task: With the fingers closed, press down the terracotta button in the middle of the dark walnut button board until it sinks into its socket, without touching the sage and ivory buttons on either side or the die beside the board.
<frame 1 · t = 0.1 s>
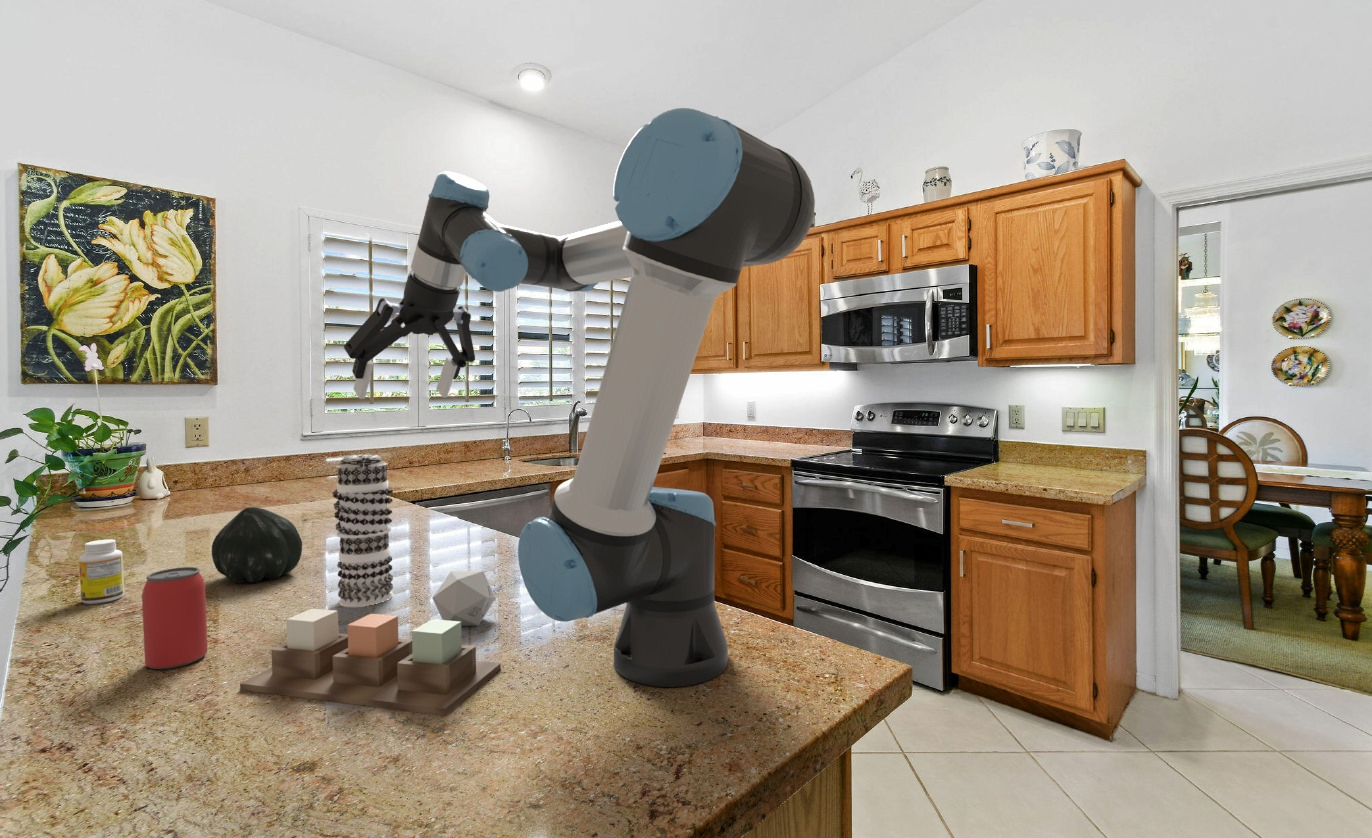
hand: (402, 393, 104), 36 cm above the countertop, tool tilted 35°, fingers open, 13 cm apart
terracotta button: (373, 636, 79), point 5 cm above the countertop, slide at 0.0 cm
squash: (260, 578, 123), on the countertop
ivory button: (313, 630, 81), point 6 cm above the countertop, slide at 0.0 cm
die: (465, 623, 99), on the countertop
decorative candle: (366, 600, 110), on the countertop
sage button: (437, 642, 77), point 5 cm above the countertop, slide at 0.0 cm
button board: (374, 679, 79), on the countertop
beer can: (177, 662, 85), on the countertop
supplement bottle: (103, 600, 110), on the countertop
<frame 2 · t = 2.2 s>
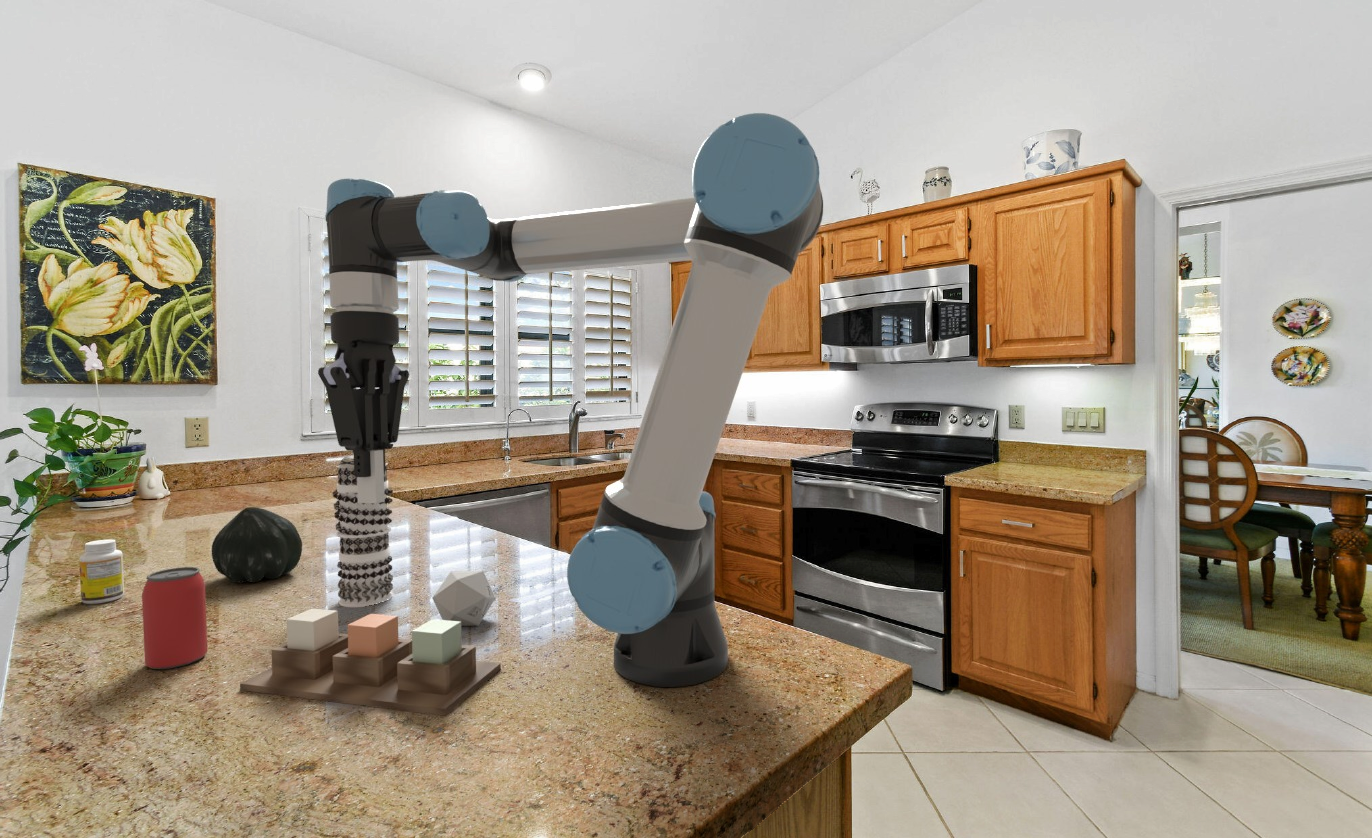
hand: (371, 501, 79), 22 cm above the countertop, tool pointing down, fingers closed
nothing on the countertop moved.
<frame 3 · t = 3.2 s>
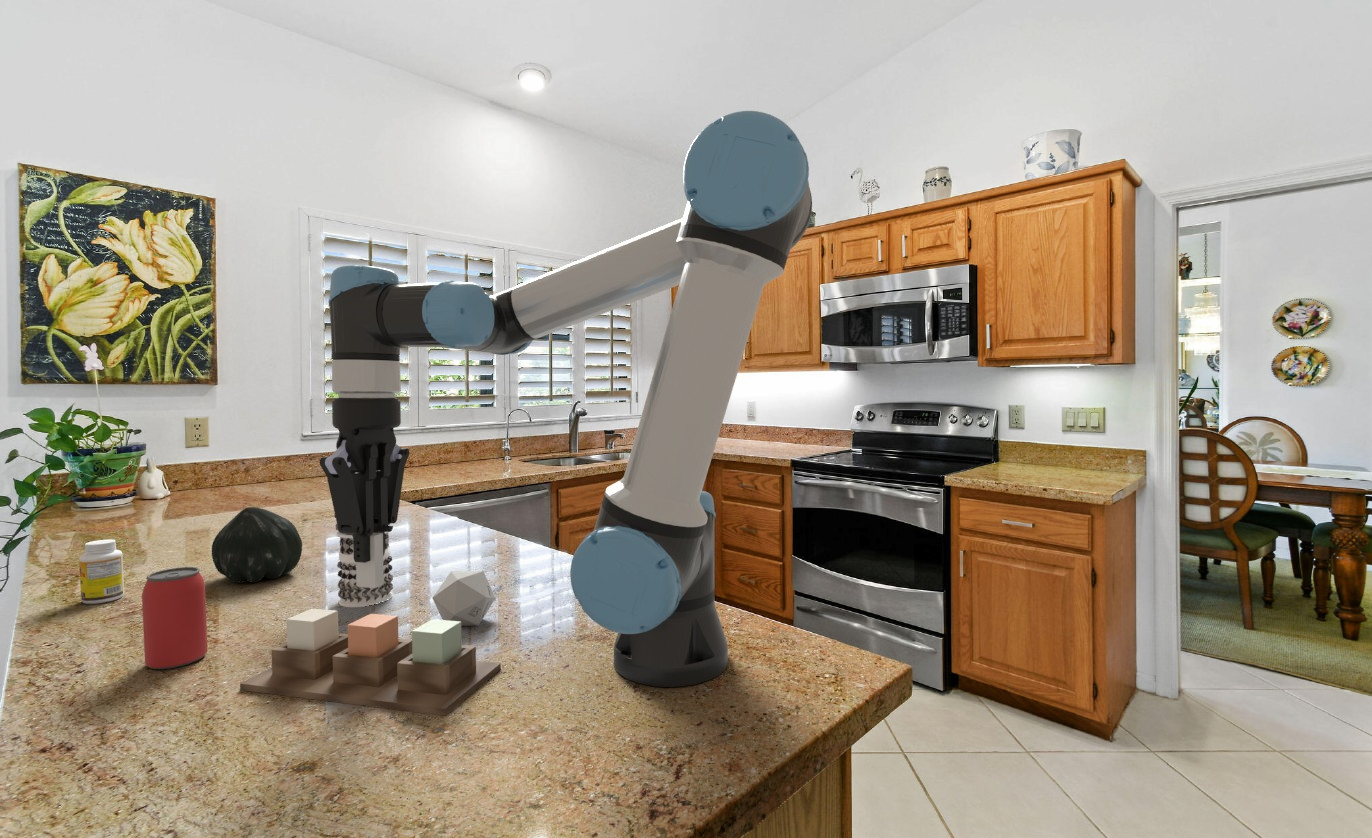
hand: (370, 585, 79), 12 cm above the countertop, tool pointing down, fingers closed
nothing on the countertop moved.
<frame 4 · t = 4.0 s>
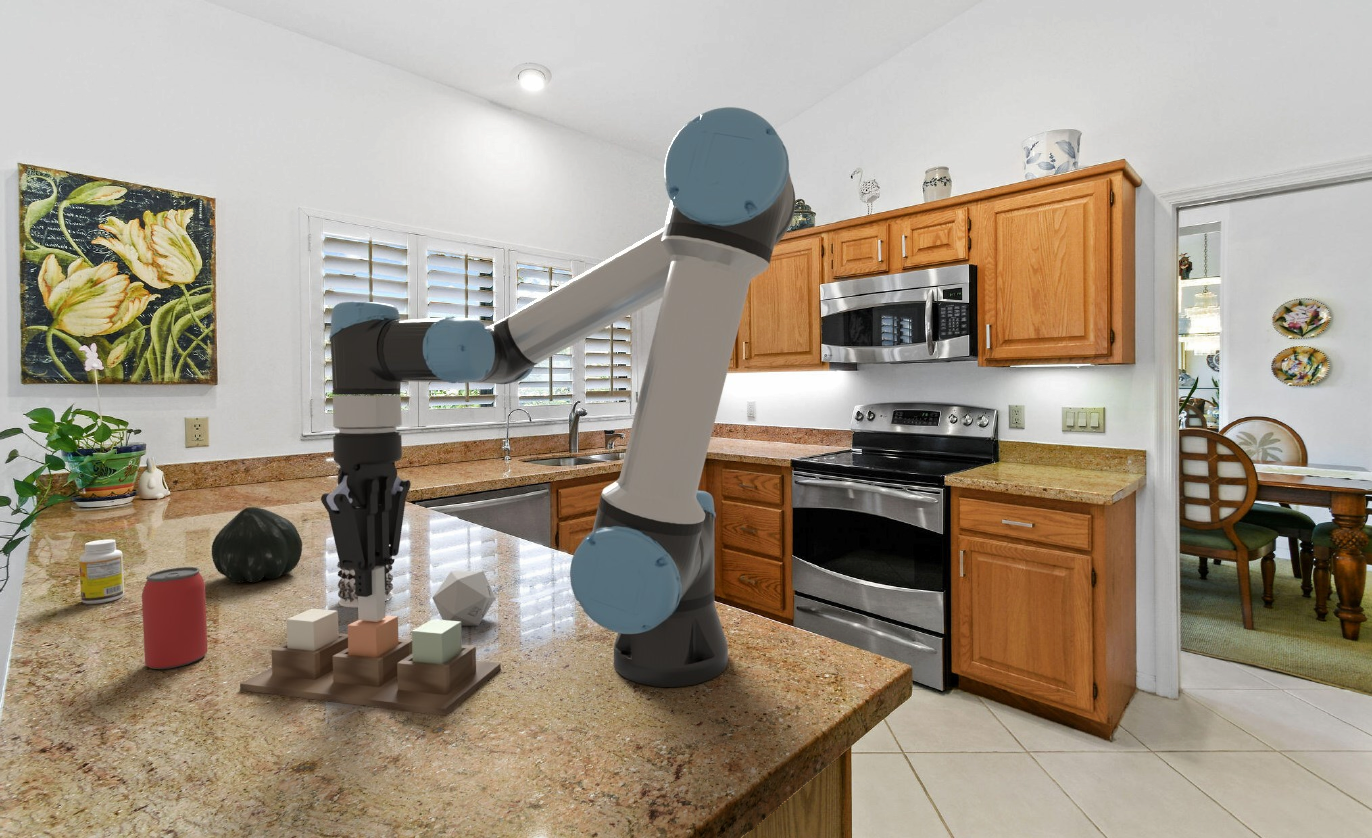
hand: (371, 618, 79), 8 cm above the countertop, tool pointing down, fingers closed
terracotta button: (373, 636, 79), point 5 cm above the countertop, slide at 0.1 cm, touching gripper
everything else where it was.
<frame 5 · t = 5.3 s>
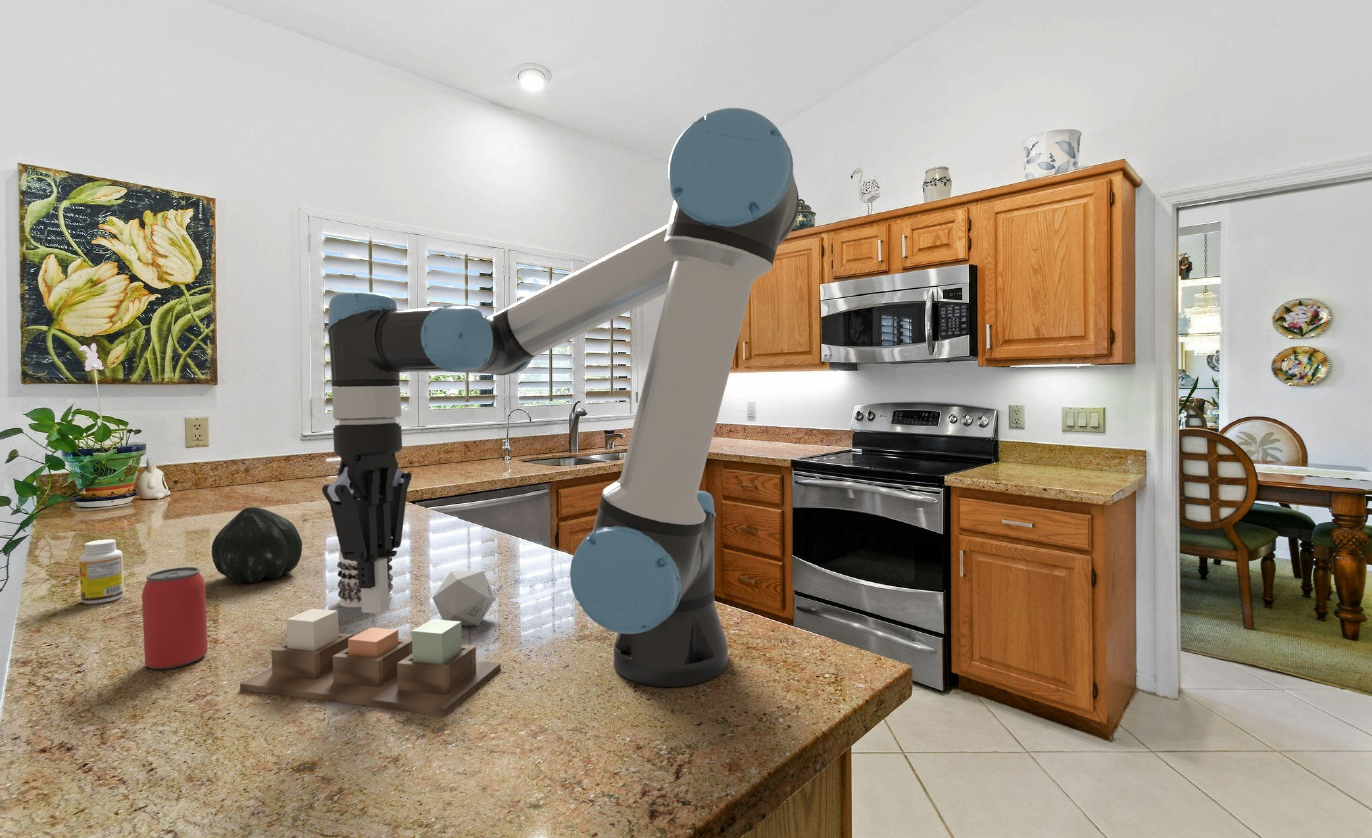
hand: (375, 610, 79), 9 cm above the countertop, tool pointing down, fingers closed
terracotta button: (374, 650, 79), point 4 cm above the countertop, slide at 1.8 cm
everything else where it was.
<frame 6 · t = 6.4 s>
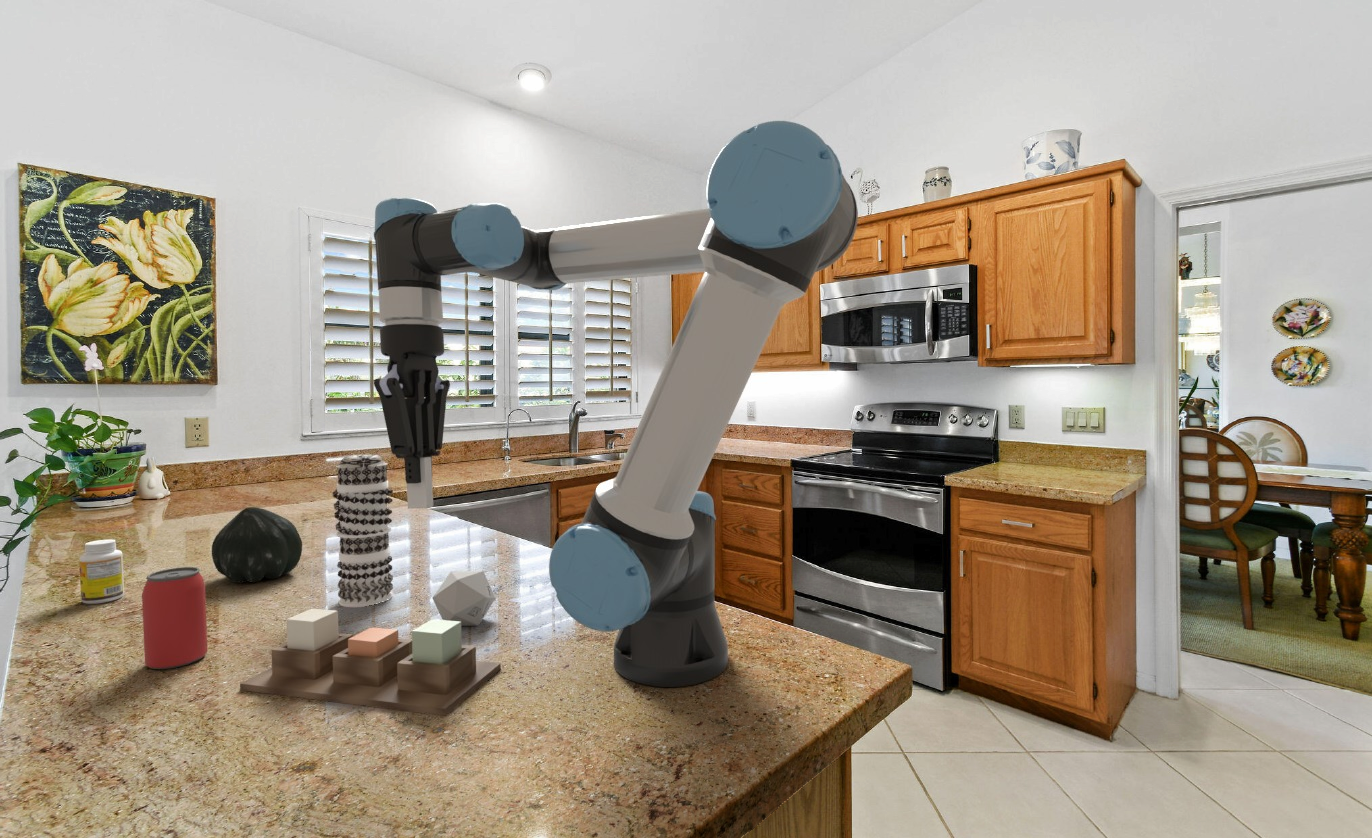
hand: (420, 507, 82), 21 cm above the countertop, tool pointing down, fingers closed
nothing on the countertop moved.
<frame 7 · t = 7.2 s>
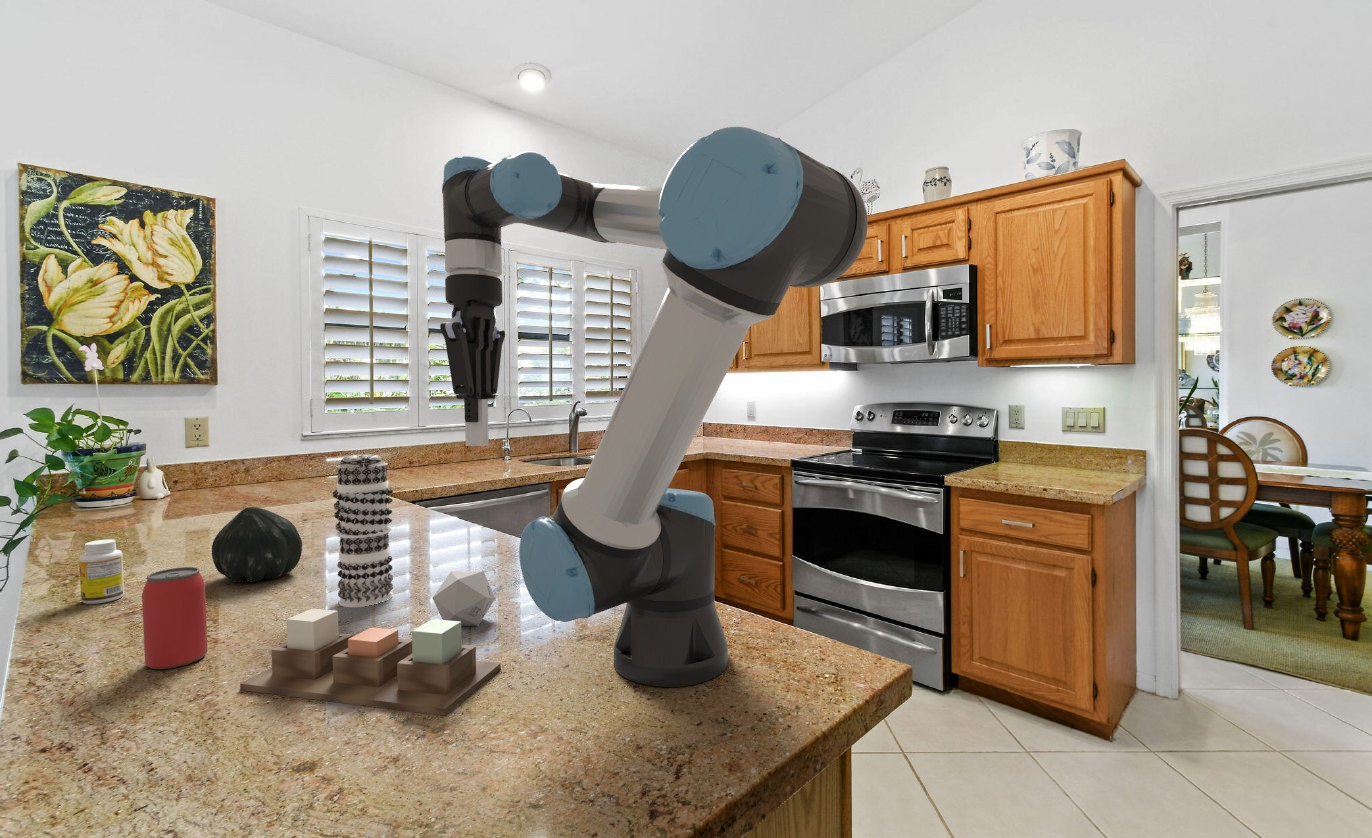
hand: (477, 445, 89), 28 cm above the countertop, tool pointing down, fingers closed
nothing on the countertop moved.
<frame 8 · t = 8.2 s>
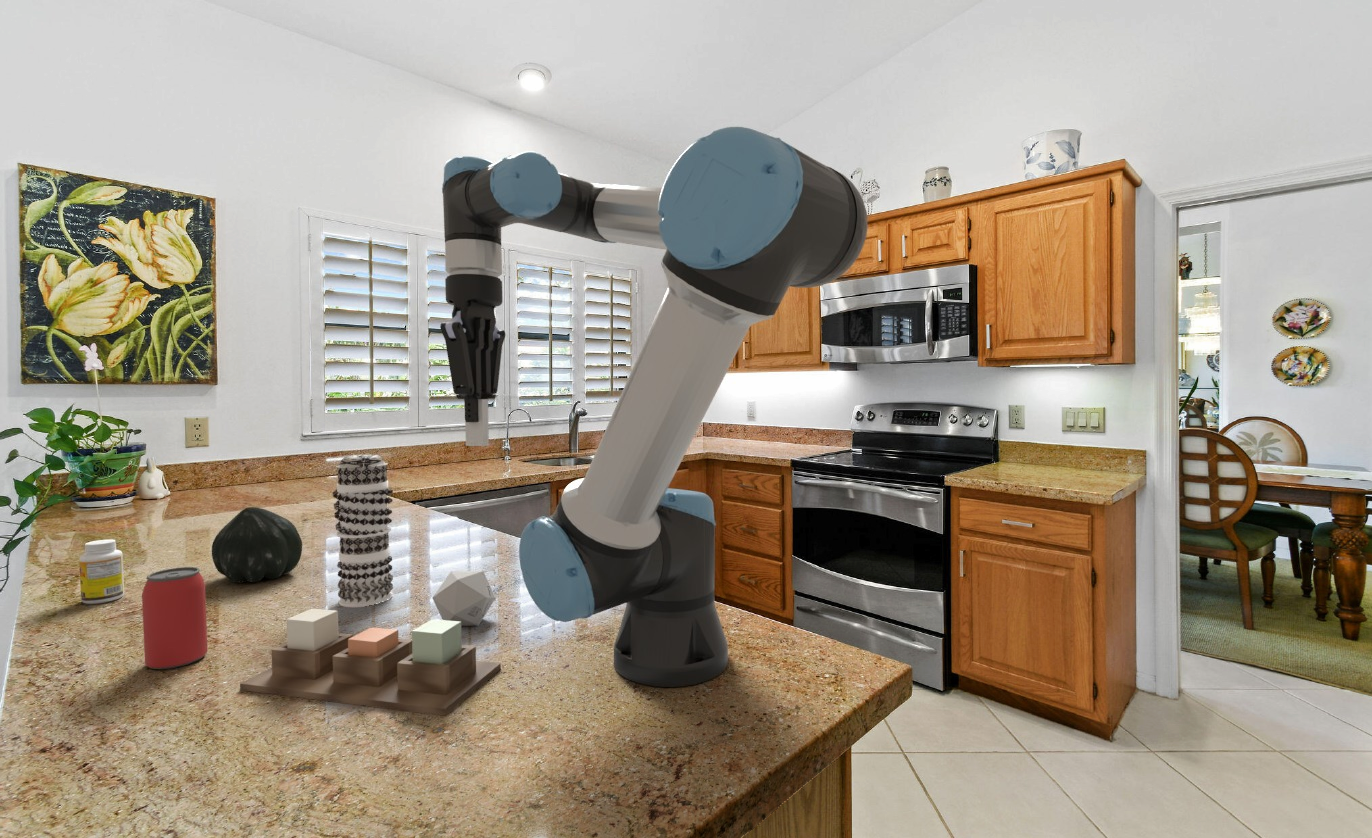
hand: (477, 445, 89), 28 cm above the countertop, tool pointing down, fingers closed
nothing on the countertop moved.
at the end: terracotta button slide at 1.8 cm; sage button slide at 0.0 cm; ivory button slide at 0.0 cm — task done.
